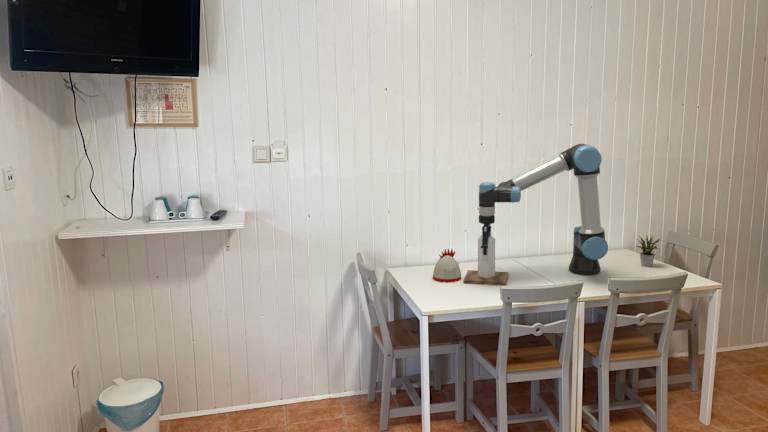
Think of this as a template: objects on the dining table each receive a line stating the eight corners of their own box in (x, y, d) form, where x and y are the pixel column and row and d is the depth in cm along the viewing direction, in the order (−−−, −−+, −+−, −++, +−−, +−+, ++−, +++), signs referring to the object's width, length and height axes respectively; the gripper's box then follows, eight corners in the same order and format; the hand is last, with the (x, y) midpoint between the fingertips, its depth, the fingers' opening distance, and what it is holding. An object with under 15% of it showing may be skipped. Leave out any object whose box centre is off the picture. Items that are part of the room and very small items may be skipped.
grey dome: (464, 281, 301) (464, 251, 299) (436, 283, 299) (436, 253, 296) (456, 273, 315) (456, 244, 312) (430, 275, 313) (429, 246, 310)
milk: (486, 278, 300) (486, 234, 296) (477, 275, 305) (477, 232, 300) (495, 276, 303) (495, 232, 299) (486, 273, 308) (486, 230, 304)
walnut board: (508, 274, 310) (508, 271, 310) (505, 285, 293) (505, 282, 293) (468, 272, 315) (468, 270, 315) (463, 283, 298) (463, 280, 298)
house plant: (664, 270, 311) (666, 239, 308) (634, 269, 315) (636, 237, 312) (661, 263, 324) (663, 232, 321) (632, 261, 329) (634, 231, 325)
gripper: (481, 209, 311) (481, 251, 315) (476, 219, 287) (475, 264, 291) (496, 210, 309) (496, 251, 313) (492, 220, 285) (492, 264, 289)
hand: (486, 257), depth 302 cm, fingers open, 13 cm apart
